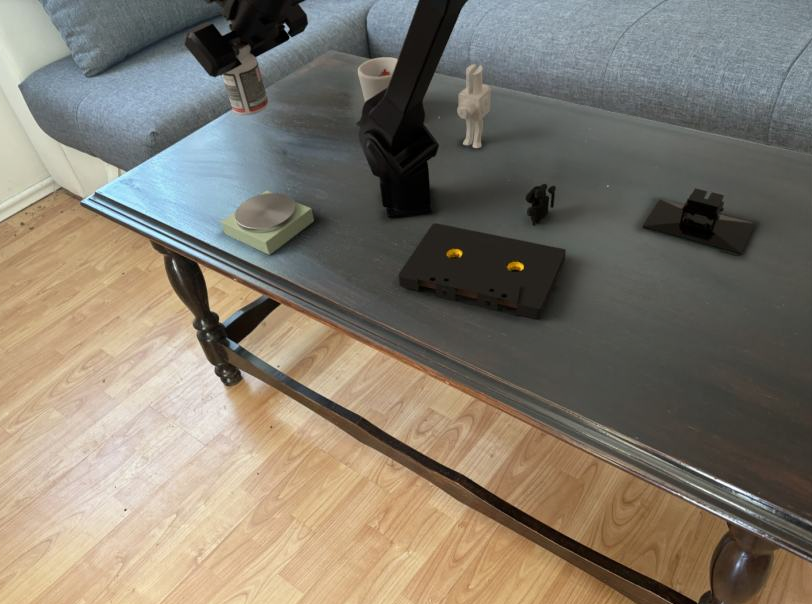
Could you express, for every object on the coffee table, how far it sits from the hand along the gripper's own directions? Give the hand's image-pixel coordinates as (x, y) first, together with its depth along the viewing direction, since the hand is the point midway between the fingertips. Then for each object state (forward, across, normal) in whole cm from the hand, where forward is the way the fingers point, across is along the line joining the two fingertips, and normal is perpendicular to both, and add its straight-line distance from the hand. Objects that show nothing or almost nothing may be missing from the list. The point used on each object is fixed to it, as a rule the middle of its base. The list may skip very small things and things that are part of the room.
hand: (233, 64), depth 100 cm
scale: (-4, +15, +23) cm, 28 cm away
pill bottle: (+4, 0, +6) cm, 7 cm away
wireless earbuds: (-25, -6, +45) cm, 52 cm away
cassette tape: (-25, +8, +45) cm, 52 cm away
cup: (0, -21, +19) cm, 28 cm away
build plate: (-38, -15, +59) cm, 71 cm away
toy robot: (-12, -19, +32) cm, 39 cm away
